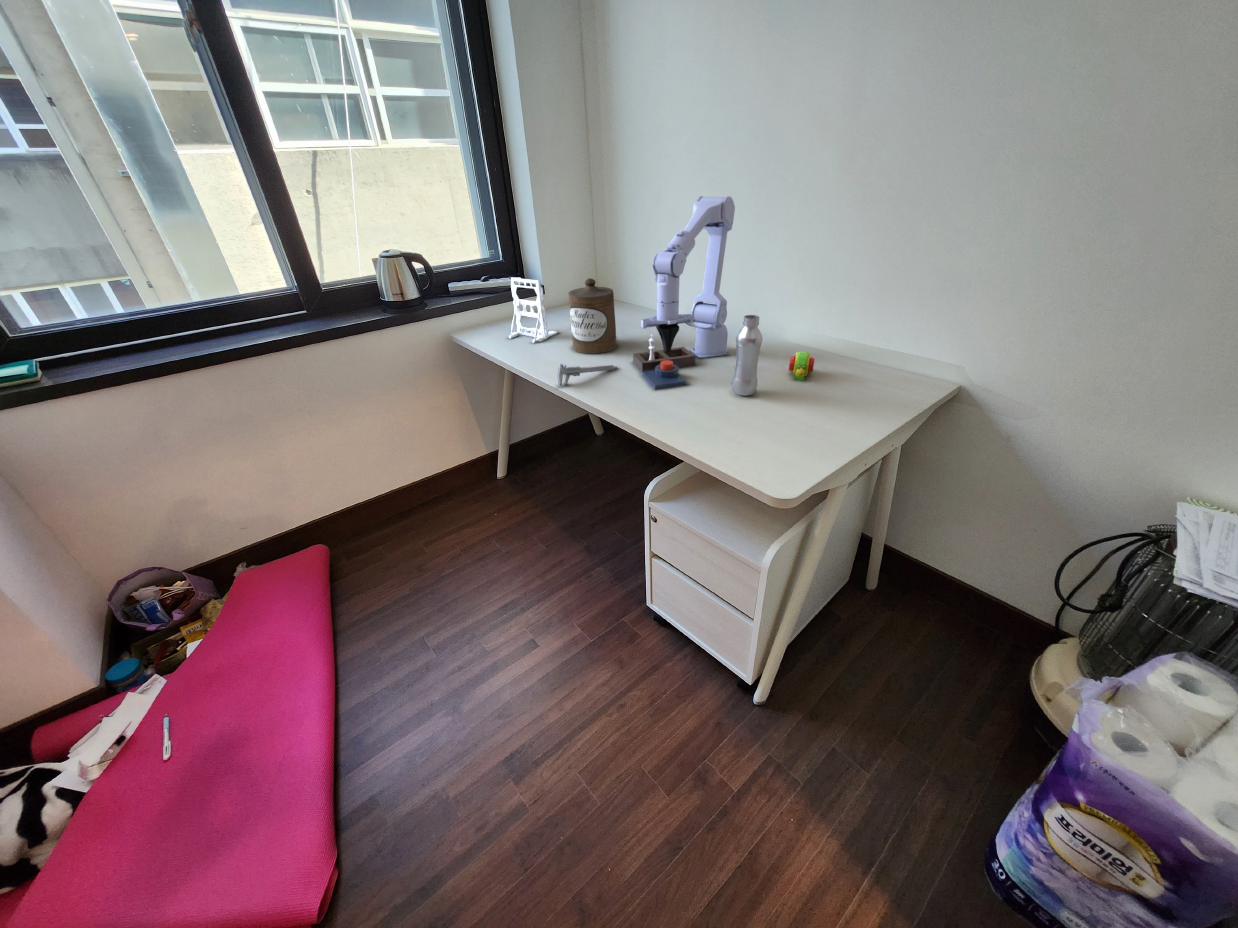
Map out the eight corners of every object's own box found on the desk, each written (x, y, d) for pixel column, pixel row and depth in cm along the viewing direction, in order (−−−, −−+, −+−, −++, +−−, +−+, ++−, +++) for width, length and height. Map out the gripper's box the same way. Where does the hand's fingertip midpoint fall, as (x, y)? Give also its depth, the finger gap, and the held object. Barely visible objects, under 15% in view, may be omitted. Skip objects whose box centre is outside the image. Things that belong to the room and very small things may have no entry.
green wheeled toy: (786, 381, 132) (790, 358, 129) (790, 357, 148) (794, 336, 144) (811, 384, 130) (815, 360, 127) (812, 359, 146) (816, 338, 142)
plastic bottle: (742, 400, 123) (750, 322, 112) (725, 391, 128) (732, 316, 117) (761, 395, 125) (771, 318, 115) (744, 386, 130) (752, 312, 120)
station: (672, 371, 142) (672, 361, 140) (686, 385, 133) (687, 374, 131) (642, 375, 140) (642, 365, 138) (654, 389, 131) (655, 379, 129)
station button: (670, 366, 138) (670, 359, 137) (675, 370, 135) (675, 363, 134) (658, 367, 138) (658, 361, 137) (662, 372, 135) (663, 365, 134)
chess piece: (661, 363, 147) (662, 331, 142) (657, 369, 144) (657, 336, 138) (646, 362, 149) (646, 330, 144) (641, 367, 145) (641, 335, 140)
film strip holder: (561, 332, 178) (555, 276, 168) (536, 343, 168) (528, 284, 158) (531, 328, 185) (524, 273, 174) (506, 338, 175) (497, 280, 165)
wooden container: (565, 351, 160) (558, 282, 148) (584, 338, 172) (579, 273, 160) (606, 356, 155) (602, 284, 143) (623, 342, 167) (620, 275, 155)
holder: (683, 355, 153) (683, 346, 151) (695, 365, 145) (695, 356, 144) (633, 362, 149) (632, 353, 147) (642, 373, 142) (642, 363, 140)
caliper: (560, 387, 135) (558, 365, 131) (558, 386, 135) (556, 364, 132) (617, 368, 145) (616, 348, 142) (614, 367, 146) (614, 347, 143)
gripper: (646, 307, 122) (646, 358, 129) (699, 301, 125) (696, 352, 132) (638, 301, 127) (638, 350, 135) (688, 295, 130) (686, 344, 138)
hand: (666, 351), depth 134 cm, fingers closed
